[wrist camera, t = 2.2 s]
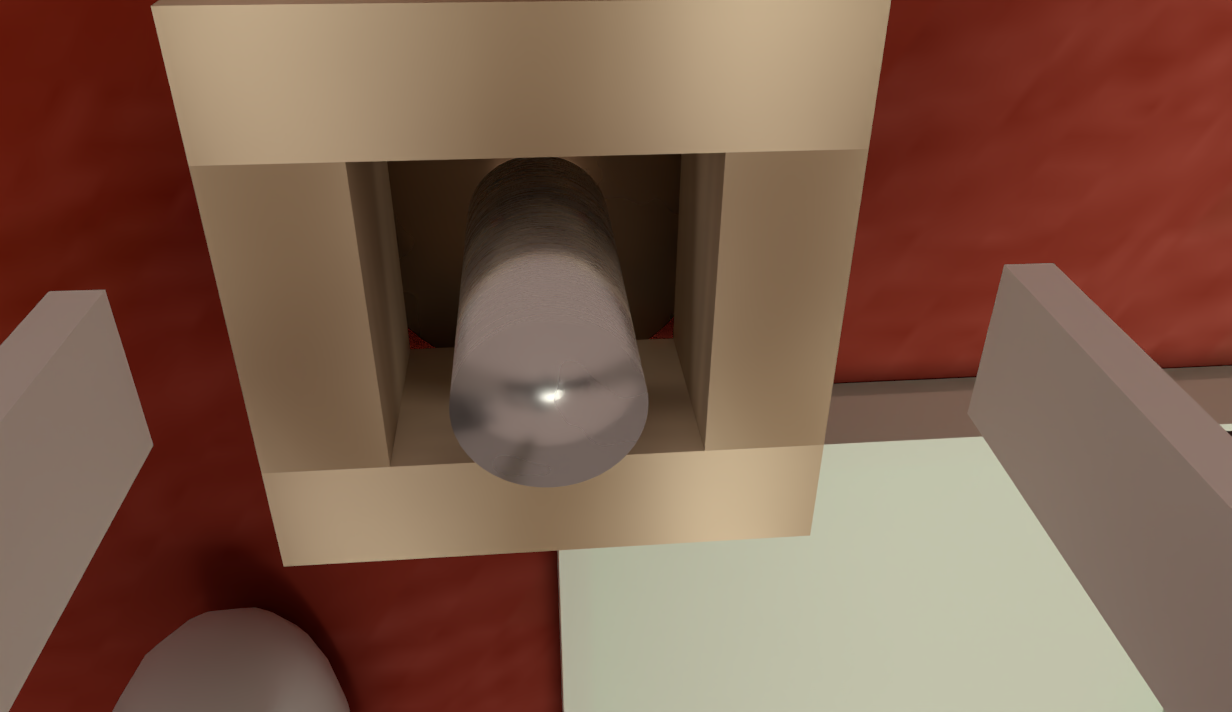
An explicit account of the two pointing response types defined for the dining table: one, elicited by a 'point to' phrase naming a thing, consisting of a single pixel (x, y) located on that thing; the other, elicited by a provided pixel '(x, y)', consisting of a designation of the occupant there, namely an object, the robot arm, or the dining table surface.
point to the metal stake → (540, 300)
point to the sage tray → (862, 587)
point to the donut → (234, 668)
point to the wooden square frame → (522, 128)
